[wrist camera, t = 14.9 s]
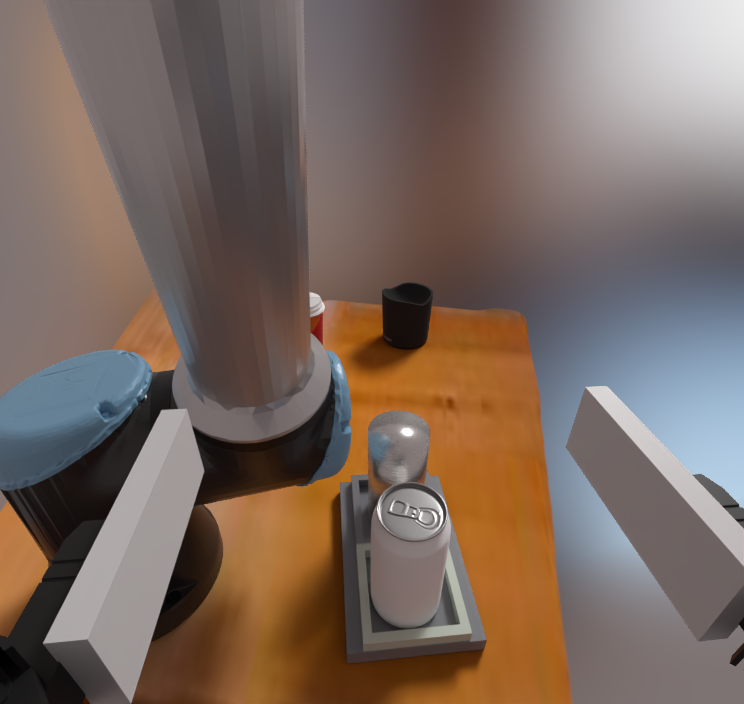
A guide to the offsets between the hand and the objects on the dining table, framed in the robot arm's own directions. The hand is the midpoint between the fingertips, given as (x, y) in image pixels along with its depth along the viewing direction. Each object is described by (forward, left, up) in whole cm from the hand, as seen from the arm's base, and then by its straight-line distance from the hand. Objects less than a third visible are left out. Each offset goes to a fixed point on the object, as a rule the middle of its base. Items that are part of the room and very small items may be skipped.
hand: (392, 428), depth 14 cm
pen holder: (+12, +62, -32) cm, 71 cm away
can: (+4, +11, -31) cm, 33 cm away
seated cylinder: (+4, +20, -30) cm, 37 cm away
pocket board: (+4, +16, -32) cm, 36 cm away
